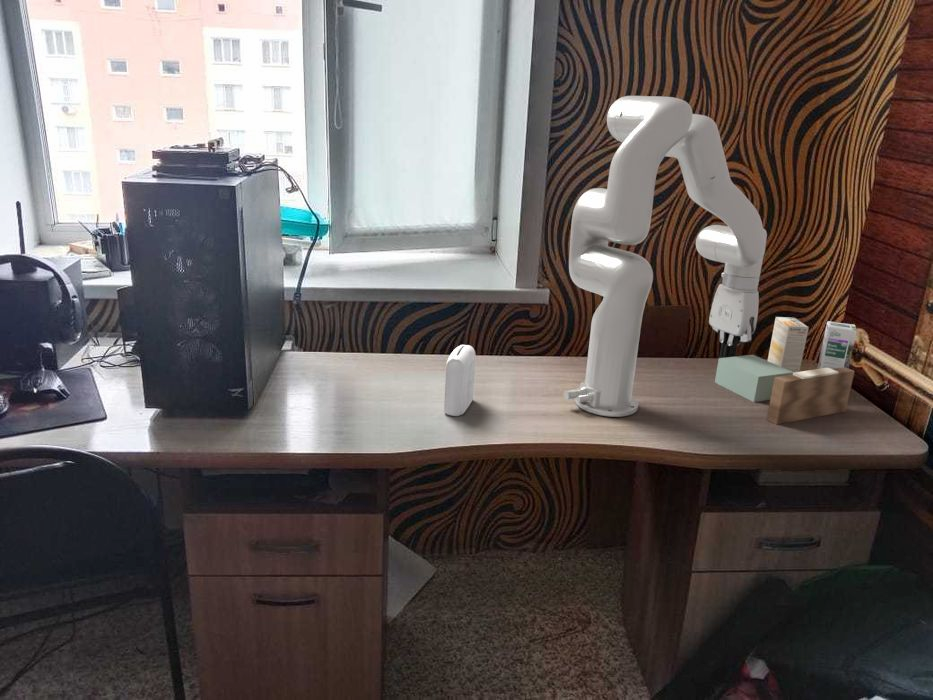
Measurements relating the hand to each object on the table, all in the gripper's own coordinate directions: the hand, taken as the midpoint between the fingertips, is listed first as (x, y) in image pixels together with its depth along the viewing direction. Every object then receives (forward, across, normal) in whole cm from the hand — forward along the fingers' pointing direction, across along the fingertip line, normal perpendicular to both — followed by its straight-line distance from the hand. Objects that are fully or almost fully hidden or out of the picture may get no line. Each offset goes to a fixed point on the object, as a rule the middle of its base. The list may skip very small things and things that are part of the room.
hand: (726, 360), depth 170 cm
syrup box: (+4, +12, +20) cm, 24 cm away
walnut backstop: (+4, +23, 0) cm, 24 cm away
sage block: (+4, +8, 0) cm, 9 cm away
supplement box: (+4, +3, +15) cm, 16 cm away
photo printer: (+4, -4, -66) cm, 66 cm away
